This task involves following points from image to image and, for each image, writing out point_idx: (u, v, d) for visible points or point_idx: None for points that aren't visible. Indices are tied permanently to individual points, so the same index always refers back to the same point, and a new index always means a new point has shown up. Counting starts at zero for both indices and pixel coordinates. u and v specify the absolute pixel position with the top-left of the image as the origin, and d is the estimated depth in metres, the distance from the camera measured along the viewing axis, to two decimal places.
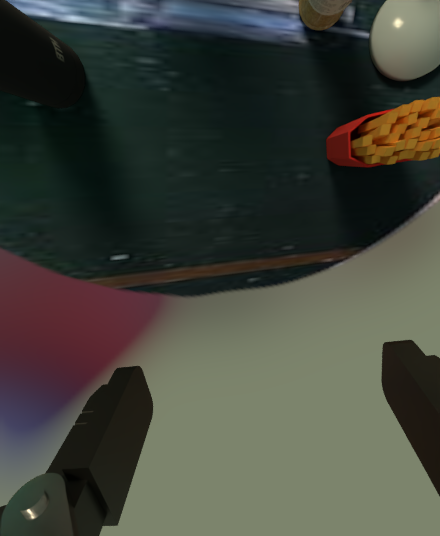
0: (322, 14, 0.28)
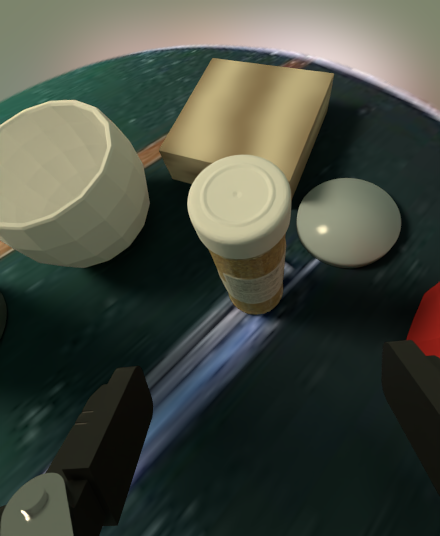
0: (271, 297, 0.21)
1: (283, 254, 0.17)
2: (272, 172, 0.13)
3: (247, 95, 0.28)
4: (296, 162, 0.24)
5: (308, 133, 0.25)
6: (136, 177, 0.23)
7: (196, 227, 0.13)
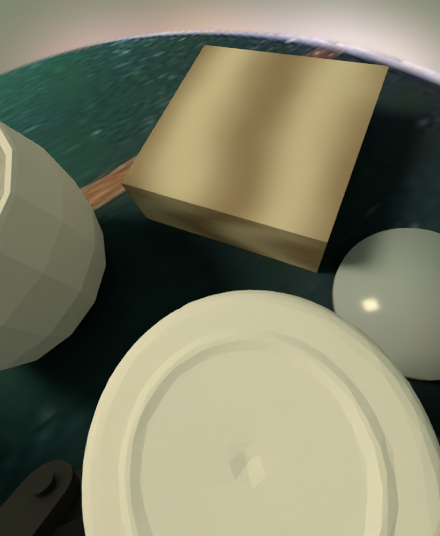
0: None
1: None
2: (372, 385, 0.04)
3: (255, 99, 0.19)
4: (336, 209, 0.15)
5: (354, 160, 0.16)
6: (70, 238, 0.14)
7: None
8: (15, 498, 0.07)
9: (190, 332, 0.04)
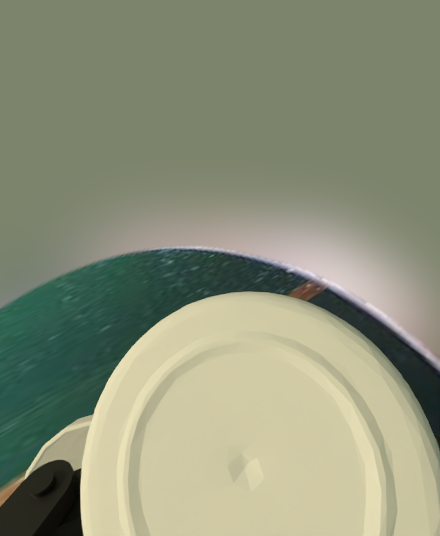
0: None
1: None
2: (371, 387, 0.04)
3: None
4: None
5: None
6: None
7: None
8: (15, 498, 0.07)
9: (188, 334, 0.04)
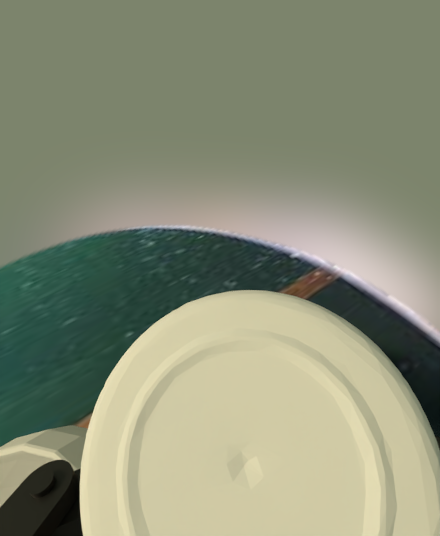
0: None
1: None
2: (372, 385, 0.04)
3: None
4: None
5: None
6: None
7: None
8: (15, 498, 0.07)
9: (188, 332, 0.04)
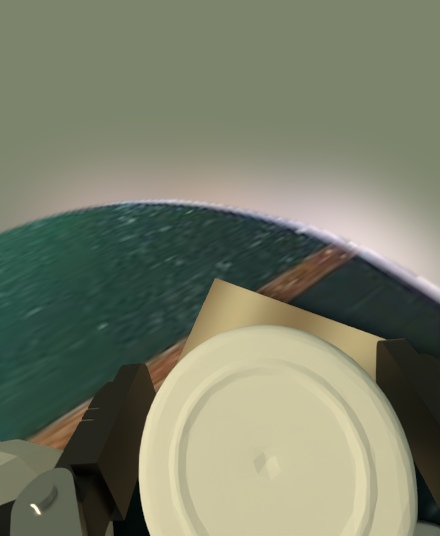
0: None
1: None
2: (362, 403, 0.05)
3: None
4: None
5: None
6: None
7: None
8: None
9: (220, 359, 0.06)
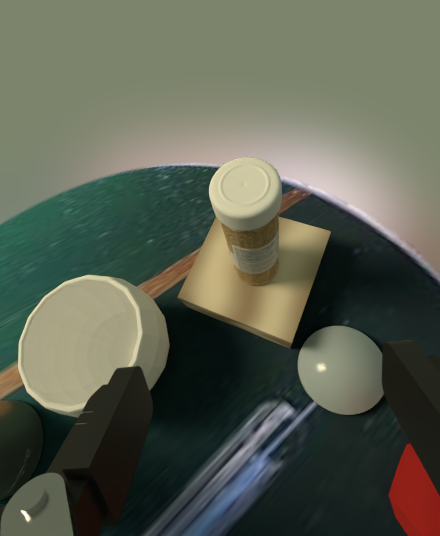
0: (269, 268, 0.27)
1: (277, 231, 0.23)
2: (268, 170, 0.19)
3: None
4: (297, 323, 0.28)
5: (308, 293, 0.29)
6: (161, 343, 0.27)
7: (215, 207, 0.19)
8: None
9: (231, 164, 0.20)
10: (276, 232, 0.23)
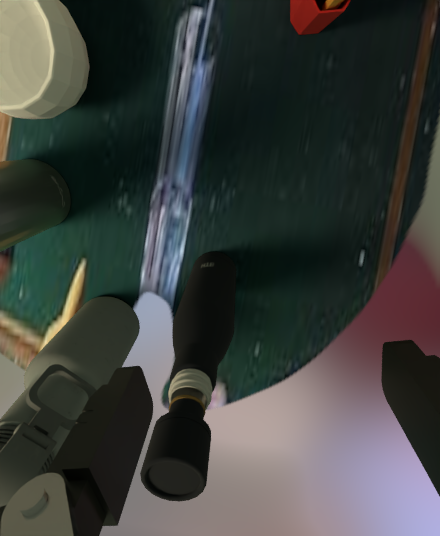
0: None
1: None
2: None
3: None
4: None
5: None
6: (59, 6, 0.28)
7: None
8: None
9: None
10: None
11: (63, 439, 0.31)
